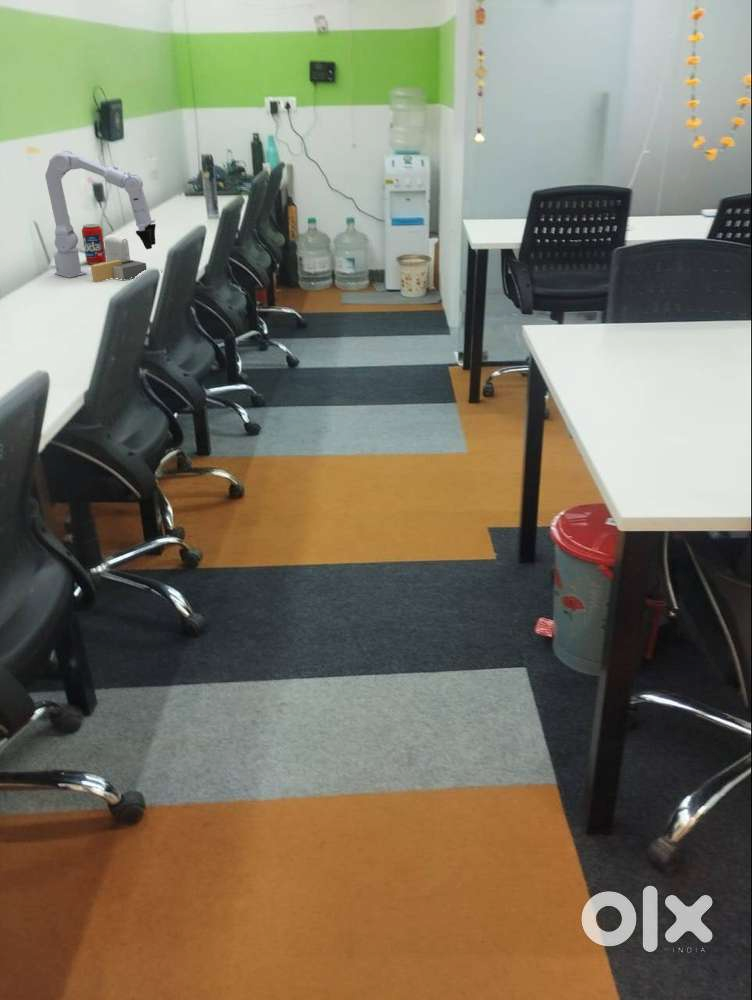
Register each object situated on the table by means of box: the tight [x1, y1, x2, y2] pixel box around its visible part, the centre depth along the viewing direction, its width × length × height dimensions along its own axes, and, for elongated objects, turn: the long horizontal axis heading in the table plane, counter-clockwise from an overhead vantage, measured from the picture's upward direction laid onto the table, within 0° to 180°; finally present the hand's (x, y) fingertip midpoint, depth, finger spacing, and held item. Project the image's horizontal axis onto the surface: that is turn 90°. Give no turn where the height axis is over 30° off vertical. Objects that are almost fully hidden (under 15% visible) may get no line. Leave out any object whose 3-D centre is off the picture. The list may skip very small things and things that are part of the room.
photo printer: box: [104, 234, 131, 262], centre depth 334 cm, size 10×4×12 cm, turn 61°
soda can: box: [81, 223, 107, 266], centre depth 338 cm, size 8×8×15 cm
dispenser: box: [99, 258, 148, 281], centre depth 323 cm, size 14×12×4 cm
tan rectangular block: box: [90, 260, 122, 283], centre depth 318 cm, size 2×12×6 cm, turn 143°
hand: (150, 246), depth 321 cm, fingers open, 7 cm apart
